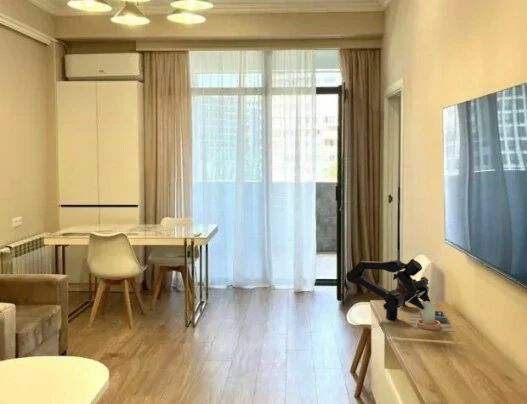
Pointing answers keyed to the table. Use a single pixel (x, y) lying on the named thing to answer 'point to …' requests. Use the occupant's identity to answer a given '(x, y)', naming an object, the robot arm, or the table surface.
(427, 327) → the terracotta dish
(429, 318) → the pale green tall cylinder
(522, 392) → the table surface
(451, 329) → the walnut board
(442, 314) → the parts tray
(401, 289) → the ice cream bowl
